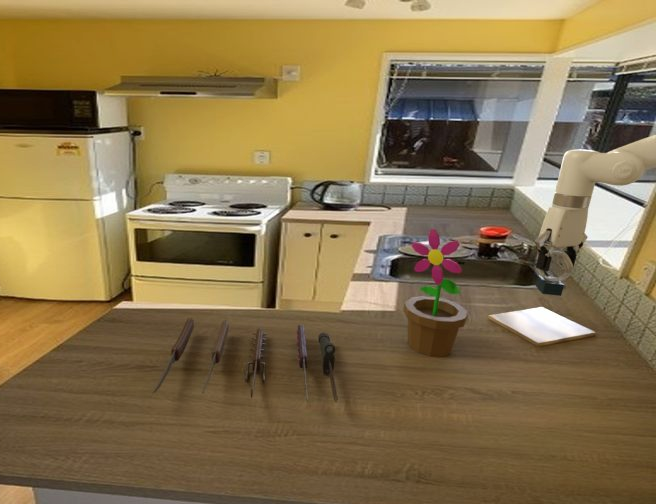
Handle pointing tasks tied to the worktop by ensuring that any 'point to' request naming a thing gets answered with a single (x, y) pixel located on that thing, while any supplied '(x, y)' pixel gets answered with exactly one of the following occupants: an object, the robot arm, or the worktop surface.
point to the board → (541, 326)
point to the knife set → (256, 354)
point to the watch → (554, 283)
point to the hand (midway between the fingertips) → (554, 267)
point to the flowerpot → (435, 303)
